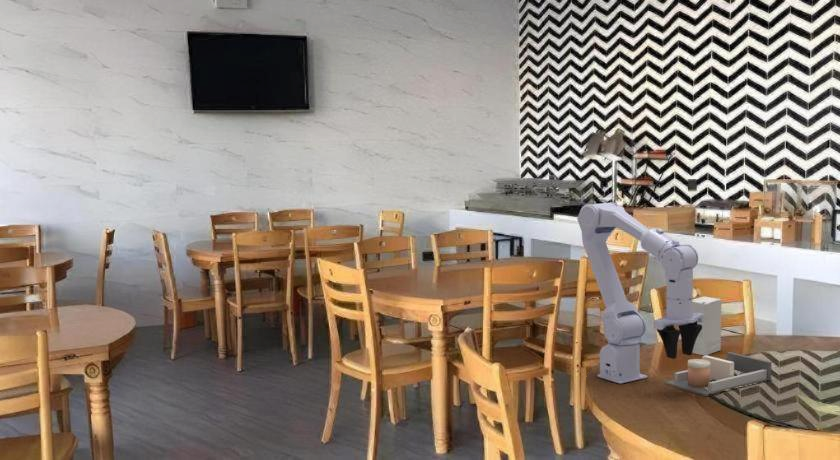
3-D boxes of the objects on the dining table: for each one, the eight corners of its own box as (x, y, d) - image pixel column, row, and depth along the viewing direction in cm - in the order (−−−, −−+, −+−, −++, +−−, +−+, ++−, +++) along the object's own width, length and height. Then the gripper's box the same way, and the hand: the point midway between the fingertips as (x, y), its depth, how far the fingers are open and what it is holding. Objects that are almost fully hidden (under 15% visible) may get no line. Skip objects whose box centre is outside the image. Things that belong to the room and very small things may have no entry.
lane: (706, 396, 180) (706, 377, 180) (665, 384, 191) (665, 365, 190) (772, 379, 192) (772, 361, 192) (730, 369, 202) (731, 351, 202)
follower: (729, 383, 187) (729, 363, 187) (702, 376, 194) (702, 356, 194) (733, 382, 188) (734, 362, 188) (706, 375, 195) (706, 355, 194)
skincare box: (702, 347, 226) (702, 295, 224) (722, 351, 221) (722, 298, 220) (686, 352, 220) (686, 299, 219) (705, 356, 216) (706, 302, 214)
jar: (698, 388, 185) (698, 365, 184) (683, 383, 189) (683, 360, 189) (714, 385, 187) (714, 362, 186) (699, 380, 191) (699, 358, 191)
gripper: (670, 304, 175) (670, 364, 177) (715, 297, 183) (714, 355, 184) (646, 299, 182) (646, 358, 183) (690, 292, 189) (690, 349, 190)
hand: (679, 356), depth 184 cm, fingers open, 5 cm apart
